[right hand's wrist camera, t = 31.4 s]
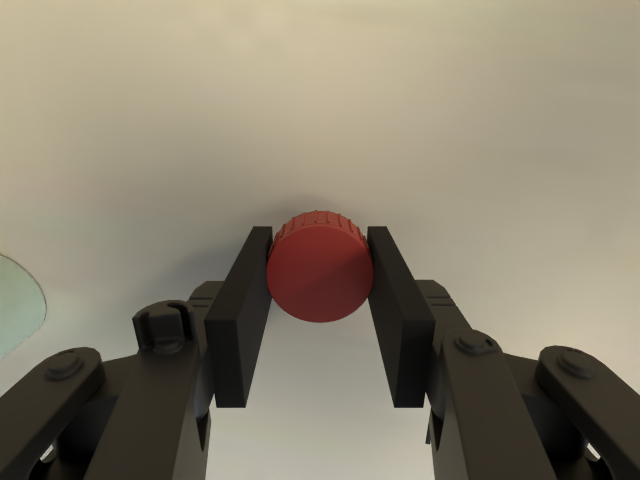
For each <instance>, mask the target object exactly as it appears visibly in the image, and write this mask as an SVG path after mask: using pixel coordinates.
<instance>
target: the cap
mask: <svg viewBox="0 0 640 480" xmlns="http://www.w3.org/2000/svg"><path fill="white" fill-rule="evenodd" d="M267 257H268V258H269V259H268V262H267V266H266V272H267V286H268V290H269V292H270V294H271V296H272V298H273V299H274V301H275V302H276V303H277V304H278V305H279V306H280V307H281V308H282V309H283V310H284V311H285V312H287V313H288V314H290V315H292V316H294V317H296V318H298V319H301V320H304V321H308V322H317V323H323V322H331V321H336V320H339V319H342V318H344V317H346V316H348V315H350V314H352V313H353V312H354V311H356V310H357V309H358V308H359V307H360V306H361V305H362V304H363V303H364V302H365V300H366V299H367V297H368V295H369V294H370V291H371V289H372V284H373V263H372V257H371V254H370V251H369V247H368V244H367V241H366V238H365V236H363V235H362V233H361V232H360V229H359V227H356V226H355V225H354V224H353V223H352V222H351V220H350V219H349V220H348V219H346V218H345V217H343V216H341V214H335V213H332V212H329V211H327V212H326V211H317V210H315V211H314V212H308V213H305V212H304V213H303V214H302V215H299V216H297V217H295V218H294V217H293V218H292V220H290V221H289V222H288V223H287V224H284V225H283V227H282V229H281V230H280V231H279V233H278V232H277V233H276V236H275V239H274V242H272V245H271V248H270V251H269V253H268V256H267Z"/></svg>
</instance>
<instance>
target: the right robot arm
mask: <svg viewBox="0 0 640 480" xmlns="http://www.w3.org/2000/svg"><path fill="white" fill-rule="evenodd" d="M272 242H273V236H272V226H254V227H253V228H252V230H251V232H250V234H249V236H248V238H247V240H246V242H245V243H244V245H243V247H242V249H241V251H240V253H239V255H238V257H237V259H236V260H235V262H234V264H233V266H232V268H231V270H230V272H229V274H228V276H227V277H226V279H225V281H206V282H205V283H203V284H202V285H200V286H199V287H197V288H196V289H195V290H194V292H193V293H192V295H191V296H190V298H189V300H188V301H187V302H185V301H181V300H167V301H162V302H157V303H155V304H152V305H149V306H147V307H145V308H143V309H142V310H140V311H139V312H137V313H136V315H135V316H134V317H133V318H132V320H133V325H134V329H135V333H136V337H137V341H138V346H139V350H138V352H137V354H135V355H132V356H128V357H124V358H119V359H114V360H110V361H105V362H102V359H101V356H100V353H99V352H98V351H97V350H95V349H93V348H88V347H81V348H72V349H68V350H64V351H61V352H59V353H57V354H55V355H53V356H51V357H49V358H47V359H45V360H44V361H42V362H41V363H40V364H38V365H37V366H35V367H34V368H33V369H32V370H31V371H30V372H29V373H27V374H26V375H25V376H24V377H23V378H22V379H21V380H20V381H18V382H17V383H16V384H15V385H14V386H13V387H12V388H10V389H9V390H8V391H7V392H6V393H5V394H4V395H3V396H1V397H0V480H205V476H206V466H207V457H208V447H209V438H210V428H211V417H210V411H209V406H210V403H211V400H212V398H213V395H214V393H215V400H216V407H217V408H245V407H246V403H247V399H248V395H249V391H250V387H251V383H252V378H253V374H254V370H255V366H256V362H257V358H258V354H259V350H260V346H261V341H262V337H263V333H264V329H265V325H266V321H267V317H268V313H269V308H270V304H271V300H272V296H271V294H270V292H269V290H268V286H267V272H266V266H267V262H268V259H269V258H268V257H267V256H268V253H269V251H270V248H271V245H272ZM367 244H368V247H369V251H370V254H371V257H372V263H373V284H372V289H371V291H370V294H369V295H368V301H369V305H370V309H371V314H372V318H373V322H374V326H375V330H376V334H377V338H378V342H379V346H380V351H381V355H382V359H383V363H384V367H385V371H386V375H387V379H388V384H389V388H390V392H391V396H392V400H393V404H394V408H423V405H424V399H425V392H426V394H427V396H428V399H429V402H430V405H431V411H430V417H429V423H428V430H427V436H426V443H425V444H430V441H431V446H432V456H433V465H434V475H435V480H640V395H639V394H638V393H636V392H635V391H634V390H633V389H632V388H631V387H630V386H628V385H627V384H626V383H625V382H624V381H623V380H622V379H620V378H619V377H618V376H617V375H616V374H615V373H614V372H613V371H611V370H610V369H609V368H608V367H607V366H606V365H605V364H603V363H602V362H600V361H599V360H597V359H596V358H595V357H593V356H591V355H589V354H587V353H584V352H583V351H581V350H578V349H575V348H574V349H573V348H570V347H565V346H549V347H545V348H544V349H543V350H542V351H541V352H540V355H539V358H538V360H533V359H528V358H523V357H518V356H514V355H510V354H506V353H503V352H502V350H501V348H500V346H499V345H498V343H497V342H496V341H495V340H494V339H492V338H491V337H489V336H488V335H486V334H484V333H482V332H480V331H477V330H473V329H472V328H471V327H470V325H469V324H468V322H467V321H466V319H465V318H464V316H463V315H462V313H461V312H460V310H459V309H458V307H457V306H456V304H455V303H454V301H453V300H452V299H451V297H450V295H449V294H448V292H447V291H446V289H445V288H444V287H443V286H441V285H440V284H438V283H437V282H435V281H434V280H414V278H413V276H412V274H411V272H410V270H409V268H408V267H407V265H406V263H405V261H404V259H403V257H402V255H401V253H400V251H399V250H398V248H397V246H396V244H395V242H394V240H393V238H392V236H391V235H390V233H389V231H388V229H387V227H386V226H368V231H367ZM588 443H590V444H591V446H592V447H593V448H594V449H595V450H596V452H597V453H598V454H599V455H600V456H601V457H600V459H597V458H596V457H595V456H594V455H593V454H592V453H591V451H590V450H589V449H588V448H587V446H588ZM51 444H52V446H53V449H52V451H51V452H50V453H49V454H48V456H46V457H45V458H44V459H43V460H42V461H41V460H40V457H41V456H42V455H43V454H44V453H45V451H46V450H47V449H48V448H49V447H50V445H51Z"/></svg>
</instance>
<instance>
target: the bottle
mask: <svg viewBox="0 0 640 480" xmlns="http://www.w3.org/2000/svg"><path fill="white" fill-rule="evenodd" d="M45 315H46V304H45V299H44V296H43V294H42V291H41V290H40V288H39V286H38V284H37V283H36V282H35V280H34V279H33V278H32V277H31V275H30V274H28V273H27V272H26V271H25V270H24V269H23V268H22V267H20V266H19V265H18V264H16V263H15V262H13V261H12V260H10V259H8V258H6V257H4V256H1V255H0V360H1V359H2V358H4V357H5V356H6V355H7V354H9V353H10V352H11V351H12V350H14V349H15V348H16V347H17V346H19V345H20V344H21V343H22V342H24V341H25V340H26V339H27V338H29V337H30V336H31V335H32V334H34V333H35V332H36V331H37V330H38V329H39V328H40V327H41V325H42V323H43V321H44V318H45Z"/></svg>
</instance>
